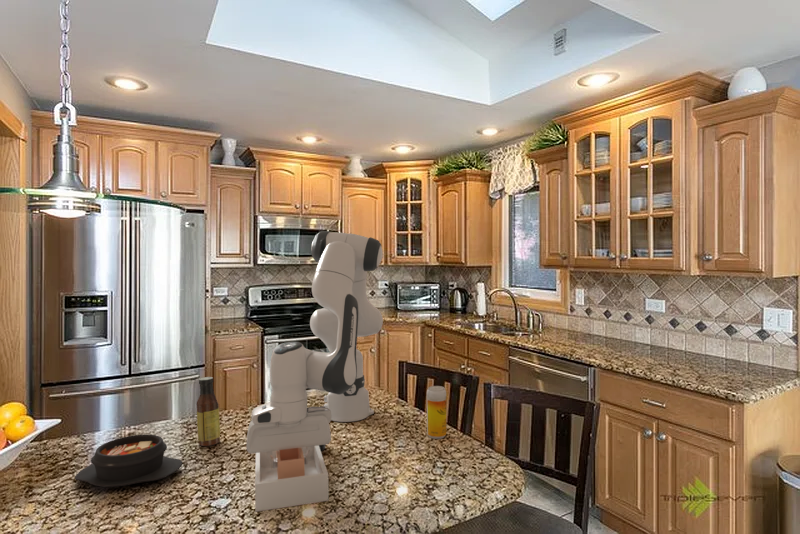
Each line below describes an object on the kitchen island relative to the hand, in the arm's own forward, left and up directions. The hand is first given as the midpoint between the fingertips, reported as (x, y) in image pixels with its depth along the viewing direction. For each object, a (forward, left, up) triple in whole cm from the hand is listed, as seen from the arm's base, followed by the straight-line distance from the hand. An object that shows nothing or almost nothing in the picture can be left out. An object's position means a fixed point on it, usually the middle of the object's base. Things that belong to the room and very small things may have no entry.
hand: (289, 465), depth 116 cm
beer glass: (-19, +46, -5) cm, 50 cm away
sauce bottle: (-35, -22, -5) cm, 42 cm away
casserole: (-17, -39, -5) cm, 43 cm away
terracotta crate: (0, 0, -2) cm, 2 cm away
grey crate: (0, 0, -5) cm, 5 cm away
